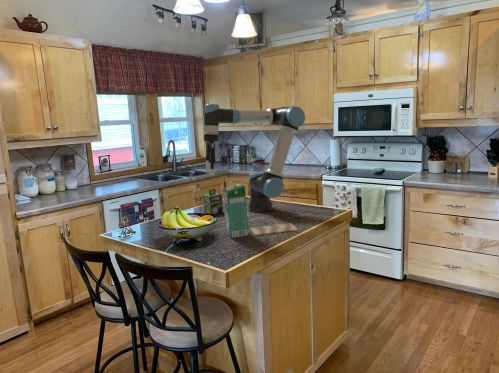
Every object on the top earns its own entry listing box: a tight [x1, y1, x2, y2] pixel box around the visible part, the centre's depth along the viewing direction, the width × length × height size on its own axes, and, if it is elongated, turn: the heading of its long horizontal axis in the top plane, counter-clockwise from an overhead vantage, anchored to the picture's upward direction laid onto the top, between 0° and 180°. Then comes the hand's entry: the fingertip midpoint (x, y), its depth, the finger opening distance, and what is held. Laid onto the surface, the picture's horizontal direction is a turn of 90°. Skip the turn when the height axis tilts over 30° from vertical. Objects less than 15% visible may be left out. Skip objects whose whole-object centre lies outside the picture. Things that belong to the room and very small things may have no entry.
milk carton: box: [222, 183, 249, 239], centre depth 193 cm, size 9×9×25 cm
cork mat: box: [250, 222, 299, 237], centre depth 199 cm, size 22×12×1 cm, turn 100°
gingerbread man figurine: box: [118, 212, 137, 235], centre depth 206 cm, size 9×4×12 cm, turn 143°
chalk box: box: [202, 188, 224, 216], centre depth 240 cm, size 9×9×15 cm
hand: (209, 173), depth 209 cm, fingers open, 13 cm apart
